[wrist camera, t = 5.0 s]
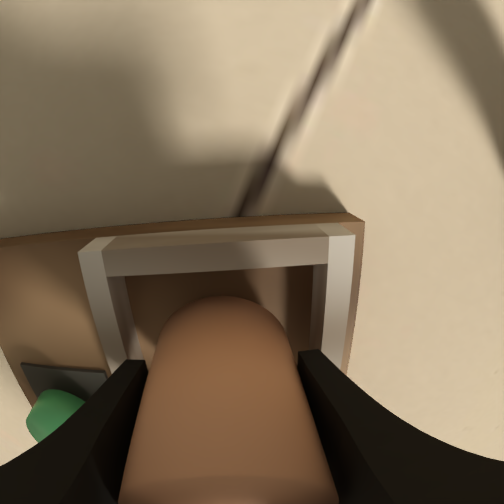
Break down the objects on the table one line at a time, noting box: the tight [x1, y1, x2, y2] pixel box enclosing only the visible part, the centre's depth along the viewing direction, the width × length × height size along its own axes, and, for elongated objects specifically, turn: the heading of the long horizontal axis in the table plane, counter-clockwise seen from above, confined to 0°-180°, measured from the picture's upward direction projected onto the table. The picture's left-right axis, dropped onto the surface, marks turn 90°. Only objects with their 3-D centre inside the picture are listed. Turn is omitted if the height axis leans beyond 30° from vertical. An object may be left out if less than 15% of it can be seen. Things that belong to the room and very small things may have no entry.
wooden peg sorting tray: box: [0, 213, 365, 408], centre depth 10 cm, size 16×16×8 cm
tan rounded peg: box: [118, 296, 339, 504], centre depth 7 cm, size 4×4×6 cm
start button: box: [26, 389, 85, 443], centre depth 10 cm, size 4×4×2 cm
